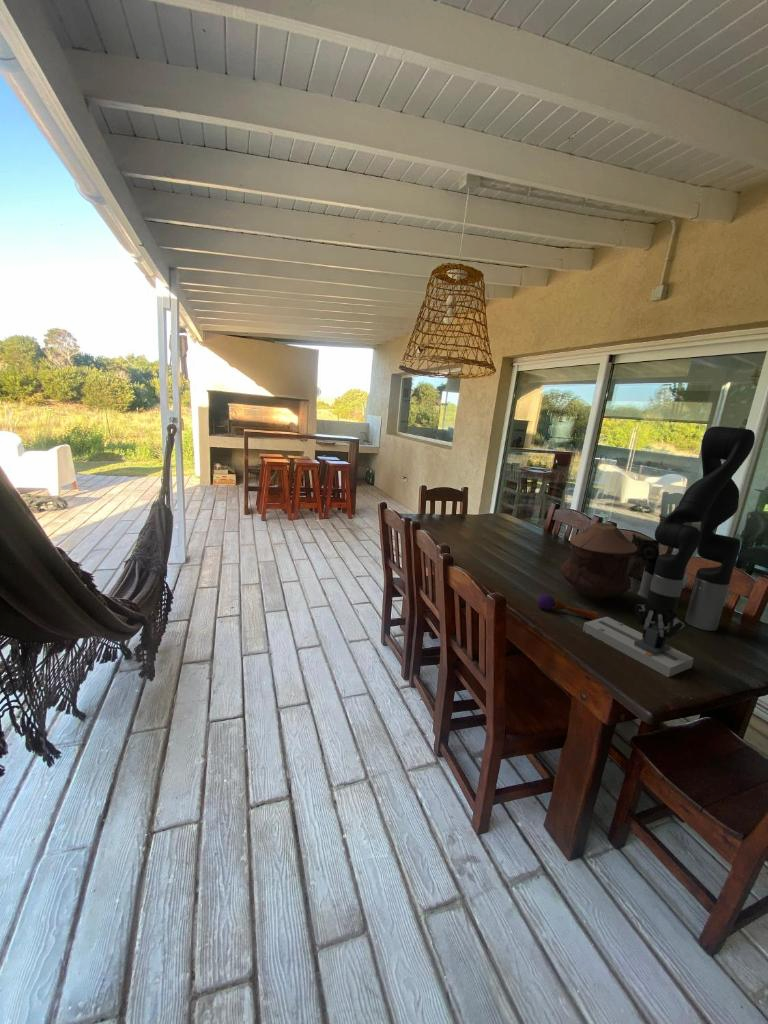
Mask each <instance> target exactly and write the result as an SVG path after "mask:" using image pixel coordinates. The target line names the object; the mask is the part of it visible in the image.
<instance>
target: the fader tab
mask: <svg viewBox="0 0 768 1024" xmlns="http://www.w3.org/2000/svg"><path fill="white" fill-rule="evenodd" d="M658 636H659V628H658V626H656V625H653V626H652V627H649V628H647V630H646V634H645V639H641V640H638V641H635V642H634V645H636V646H638V647H640V648H642V649H644V650H646V651H648V652H649V653H651V654H653V655H656V654H659V653H661V652H664V651H667V650H669V649H670V647H672V646H671V645H669V644H666V643H665V645H664V646H662V647H660V648H658V647H656V643H657V639H658Z"/></svg>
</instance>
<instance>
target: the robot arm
mask: <svg viewBox="0 0 768 1024" xmlns="http://www.w3.org/2000/svg"><path fill="white" fill-rule="evenodd" d="M755 435H756V434H755V432H754V431H753V430H751V429H749V428H743V427H742V428H741V427H731V426H710V427H708V429H707V430H706V431H705V432H704V434H703V435H702V440H701V445H700V446H701V449H700V451H701V465H702V467H701V469H702V477H701V478H700V479H698V480H696V481H695V482H693V483H692V484H691V485H690V486H689V487H688V488H687V489H686V491H685V492H684V494H683V496H682V497H681V499H680V501H679V503H678V504H677V506H676V507H675V508H674V509H673V510H672V511H671V512H670V514H668V515H667V516H666V517H665V518H664V519H663V520H662V521H660V522H659V524H658V525H657V526H656V529H655V531H654V540H656V541H657V542H658V543H659V544H658V545H661V546H665V547H669V548H672V549H673V548H674V549H676V550H678V552H677V553H676V554H672V553H662V554H659V556H658V558H657V561H656V565H655V570H654V574H653V577H652V579H651V583H650V588H649V592H648V597H647V598H646V602H645V604H642V603H639V604H635V605H634V610H635V614H636V620H637V624H638V625H639V626H642V627H643V631H642V634H643V636H642V637H643V638H644V639H645V634H646V630H647V628H649V627H652V626H654V624H655V623H657V625H658V626H657V627H658V628H659V636H658V639H657V643H656V647H658V648H660V647H662V646H664V645H665V644H666V641H667V639H671V638H673V637H675V636H677V634H679V633H680V631H682V629H683V628H684V627H686V625H687V624H688V625H690V626H691V627H694V628H696V629H699V630H703V631H709V632H715V631H717V630H718V628H719V627H718V626H719V624H720V619H721V616H722V613H723V608H724V606H725V605H724V604H725V601H726V598H727V593H728V589H729V586H730V581H731V579H732V575H733V571H734V568H735V565H736V562H737V559H738V556H739V553H740V550H741V541H740V539H739V538H737V537H732V536H727V535H724V534H718V533H714V531H715V530H716V529H717V528H718V527H719V526H721V525H722V524H723V523H725V522H726V521H728V520H729V519H730V518H732V517H733V516H734V515H735V514H736V513H737V511H738V509H739V502H740V490H739V487H738V485H737V484H736V482H735V481H734V480H733V476H734V475H735V474H736V472H738V470H739V469H740V467H742V465H743V464H744V462H745V461H746V460H747V459H748V458H749V456H750V454H751V452H752V450H753V447H754V444H755V441H756V436H755ZM722 460H724V462H723V463H722ZM686 523H700V526H699V529H698V528H697V527H695V526H692V525H688V524H686ZM695 551H696V552H697V555H698V556H699V557H700V558H701V559H705V560H709V561H712V562H718V563H721V564H720V565H719V566H714V567H700V568H698V569H697V571H696V574H695V578H694V582H693V586H692V590H691V594H690V599H689V603H688V606H687V611H686V615H685V619H684V621H682V620H680V619H679V618H678V615H677V610H678V606H679V602H680V598H681V595H682V590H683V584H684V583H683V582H684V577H685V573H686V568H687V566H688V563H689V562H690V560H691V558H692V556H693V554H694V553H695ZM645 612H646V613H645ZM646 615H647V617H646ZM671 622H673V623H672V626H673V627H671V629H670V623H671ZM686 623H687V624H686ZM669 629H670V630H669Z"/></svg>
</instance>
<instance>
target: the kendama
mask: <svg viewBox="0 0 768 1024" xmlns="http://www.w3.org/2000/svg"><path fill="white" fill-rule="evenodd" d="M537 604H538V607H539V608H541V609H543V610H545V611H547V610H548V611H549V610H551V609H553V610H554V611H556V610H558V611H559V610H567V611H569V612H571V613H575V614H576V615H579V616H582V617H585V619H589V620H590V621H592V620H596V619H598V614H599V613H598V611H594V610H588V609H583V608H577V607H575V606H574V607H573V606H567V605H566V604H564V603H562V601H561V600H559V599H558V598H556V600H555V598H554V596H553V595H551V594H549V593H542V594H540V595H539V596H538V597H537Z"/></svg>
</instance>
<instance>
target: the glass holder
mask: <svg viewBox="0 0 768 1024" xmlns="http://www.w3.org/2000/svg"><path fill="white" fill-rule="evenodd" d="M656 561H657V559H647V561H646V565H645V568H644V572H643V577H642V582H641V581H640V585H639V586H640V587H639V590H638V591H637V594H638V595H639V596H640V595H641V596H640V597H642V596H643V597H642V598H644V597H645V598H644V599H647V597H648V592H649V588H650V583H651V579H652V577H653V574H654V570H655V565H656Z"/></svg>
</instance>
